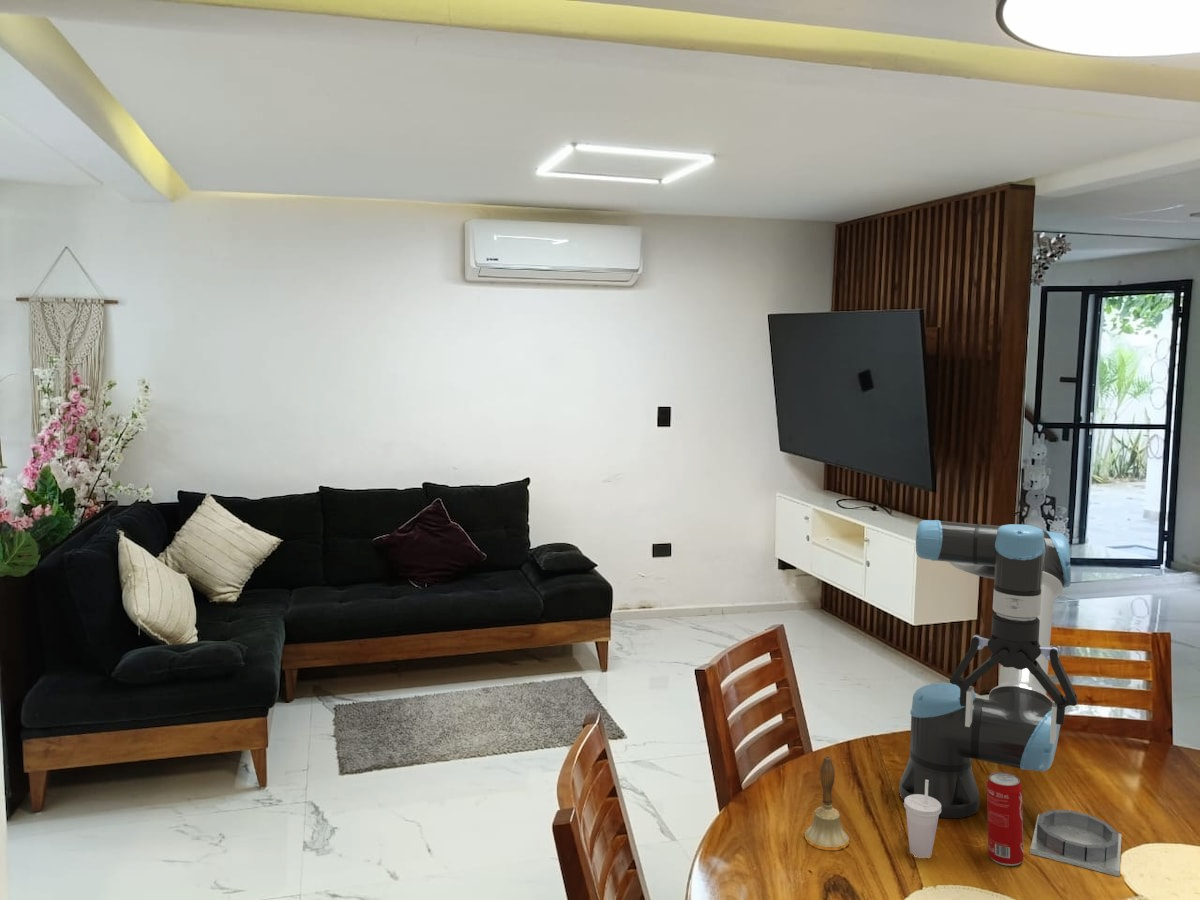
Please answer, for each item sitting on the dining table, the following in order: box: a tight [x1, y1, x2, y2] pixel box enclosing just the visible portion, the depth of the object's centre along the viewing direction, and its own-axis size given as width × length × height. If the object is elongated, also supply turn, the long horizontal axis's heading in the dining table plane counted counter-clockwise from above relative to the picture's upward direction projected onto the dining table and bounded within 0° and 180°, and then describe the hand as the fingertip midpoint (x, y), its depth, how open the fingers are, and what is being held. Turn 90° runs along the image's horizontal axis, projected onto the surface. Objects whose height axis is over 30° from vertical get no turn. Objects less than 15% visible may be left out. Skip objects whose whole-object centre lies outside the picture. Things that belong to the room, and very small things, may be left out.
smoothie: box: [903, 780, 941, 859], centre depth 163 cm, size 6×6×14 cm
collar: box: [1029, 809, 1122, 878], centre depth 165 cm, size 14×14×4 cm
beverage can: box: [986, 771, 1025, 867], centre depth 161 cm, size 6×6×15 cm
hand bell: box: [804, 755, 850, 847], centre depth 167 cm, size 8×8×16 cm
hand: (1009, 732), depth 159 cm, fingers open, 13 cm apart
